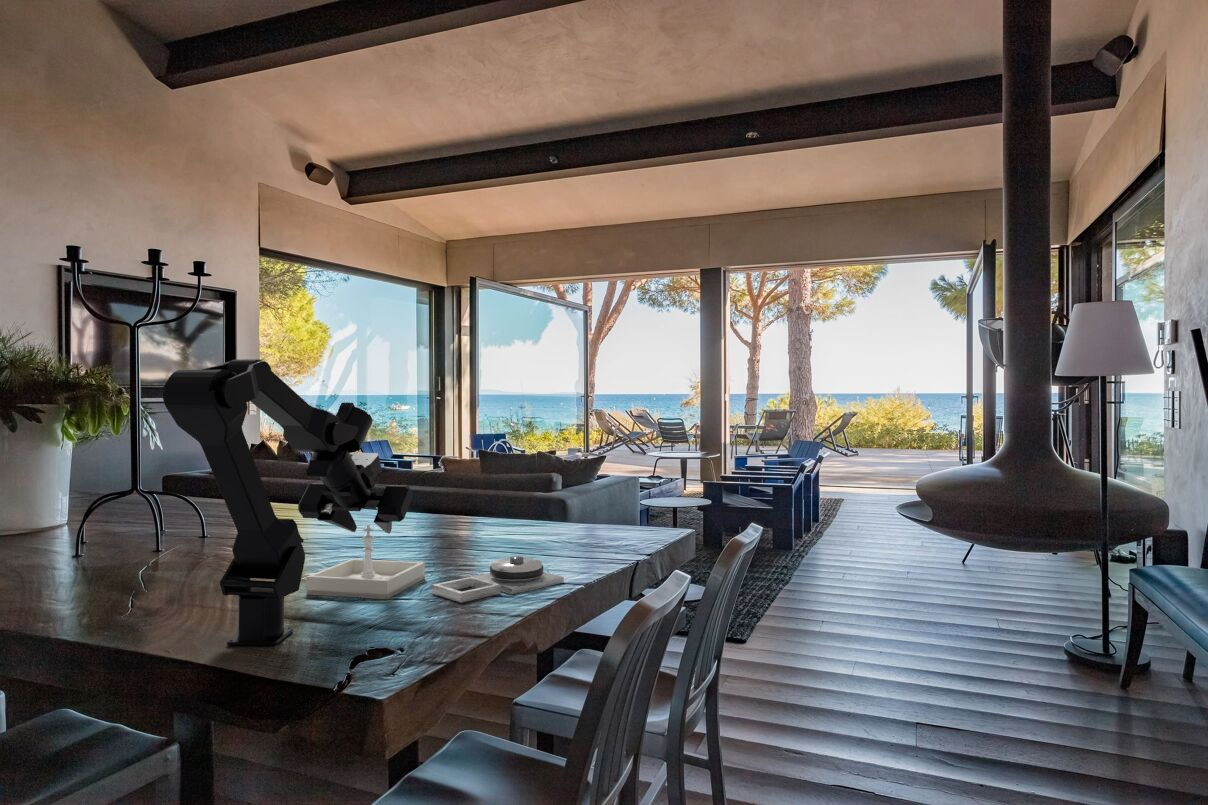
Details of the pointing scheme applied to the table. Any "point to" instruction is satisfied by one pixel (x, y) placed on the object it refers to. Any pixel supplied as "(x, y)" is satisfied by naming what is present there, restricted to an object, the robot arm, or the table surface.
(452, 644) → the table surface
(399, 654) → the table surface
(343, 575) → the tray
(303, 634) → the table surface
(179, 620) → the table surface
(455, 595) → the bracket
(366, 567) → the chess piece
